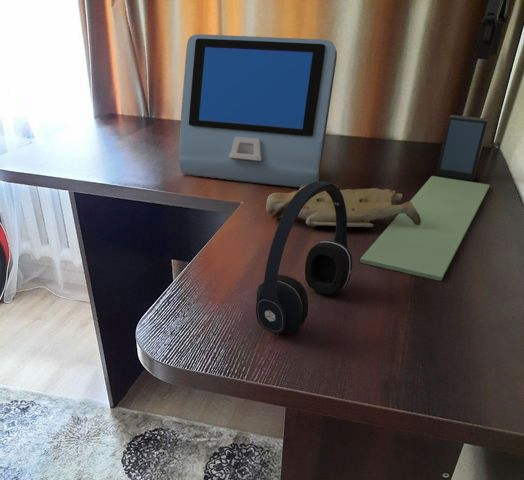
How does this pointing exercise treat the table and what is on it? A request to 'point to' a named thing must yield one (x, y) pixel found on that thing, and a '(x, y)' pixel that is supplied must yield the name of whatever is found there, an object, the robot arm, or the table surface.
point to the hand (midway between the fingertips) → (486, 56)
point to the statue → (357, 207)
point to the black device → (462, 147)
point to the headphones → (316, 267)
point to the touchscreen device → (256, 108)
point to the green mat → (429, 229)
